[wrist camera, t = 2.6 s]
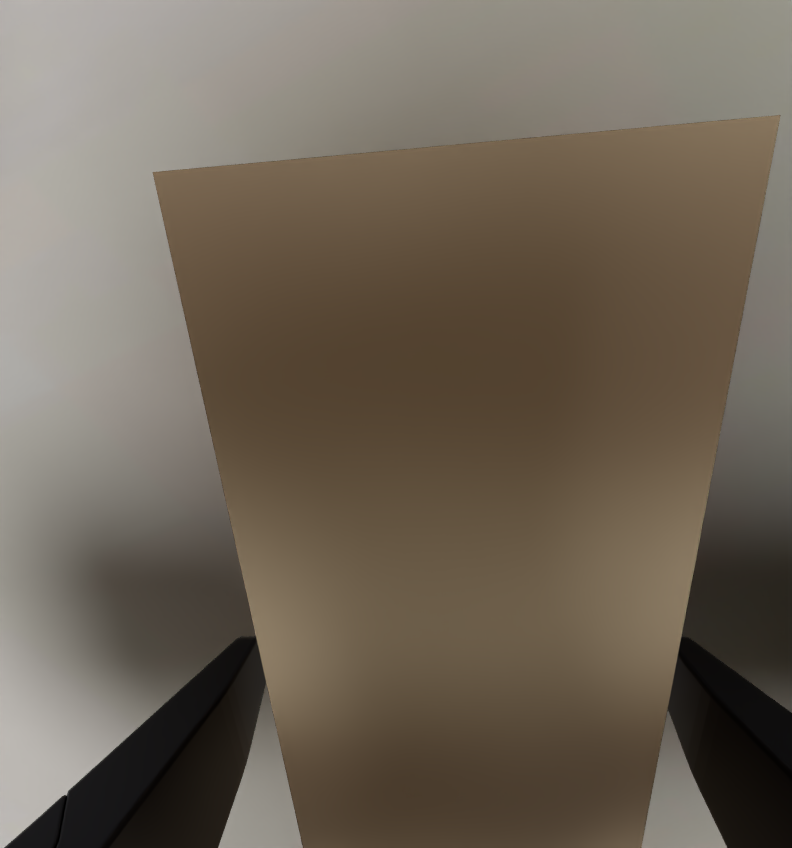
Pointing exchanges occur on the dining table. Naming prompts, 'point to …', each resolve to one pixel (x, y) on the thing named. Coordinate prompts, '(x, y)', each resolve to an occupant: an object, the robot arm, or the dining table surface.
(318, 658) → the light wood rectangular block
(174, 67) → the dining table surface
